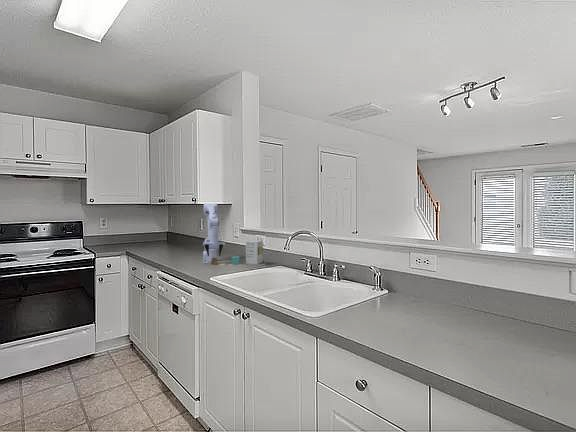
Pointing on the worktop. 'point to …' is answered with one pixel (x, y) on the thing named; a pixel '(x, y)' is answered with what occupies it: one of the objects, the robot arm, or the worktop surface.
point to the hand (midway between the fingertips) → (214, 255)
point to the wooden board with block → (214, 262)
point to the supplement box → (254, 252)
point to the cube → (235, 260)
